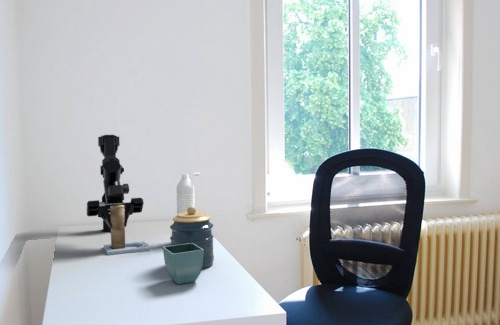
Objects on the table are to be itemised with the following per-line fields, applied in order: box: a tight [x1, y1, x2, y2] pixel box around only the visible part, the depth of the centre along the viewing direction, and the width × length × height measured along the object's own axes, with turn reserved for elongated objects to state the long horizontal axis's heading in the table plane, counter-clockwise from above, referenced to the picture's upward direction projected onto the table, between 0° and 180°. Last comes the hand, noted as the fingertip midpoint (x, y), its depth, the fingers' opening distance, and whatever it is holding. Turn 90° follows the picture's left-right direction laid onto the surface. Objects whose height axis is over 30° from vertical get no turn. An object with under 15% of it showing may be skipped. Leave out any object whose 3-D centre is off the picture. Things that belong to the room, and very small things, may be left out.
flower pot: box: [162, 243, 204, 285], centre depth 125 cm, size 9×9×9 cm
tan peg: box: [110, 205, 126, 250], centre depth 160 cm, size 5×5×14 cm
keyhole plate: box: [103, 240, 152, 256], centre depth 161 cm, size 14×11×1 cm
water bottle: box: [176, 172, 201, 215], centre depth 171 cm, size 9×6×25 cm
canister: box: [169, 206, 215, 270], centre depth 141 cm, size 13×13×18 cm
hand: (118, 226), depth 158 cm, fingers closed on tan peg, 4 cm apart
